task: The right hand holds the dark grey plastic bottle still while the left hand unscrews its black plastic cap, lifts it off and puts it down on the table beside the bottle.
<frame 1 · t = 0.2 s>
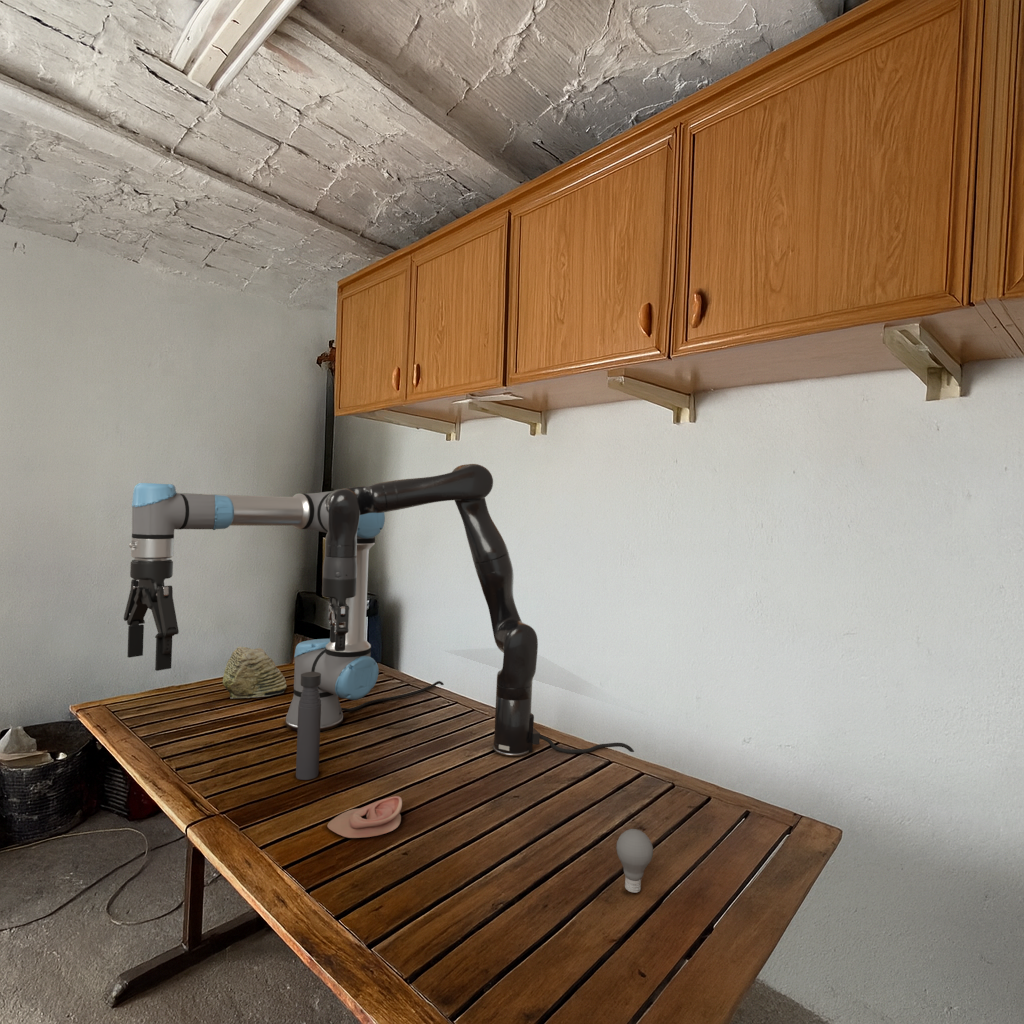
left hand: (148, 662, 129), 28 cm above the table, tool pointing down, fingers open, 13 cm apart
right hand: (337, 646, 145), 29 cm above the table, tool pointing down, fingers open, 8 cm apart
cap: (310, 675, 143), point 23 cm above the table, screwed on, not yet turned
anatomical model: (365, 824, 123), on the table
light bulb: (632, 891, 106), on the table
bottle: (307, 775, 144), on the table
fossil: (254, 694, 198), on the table
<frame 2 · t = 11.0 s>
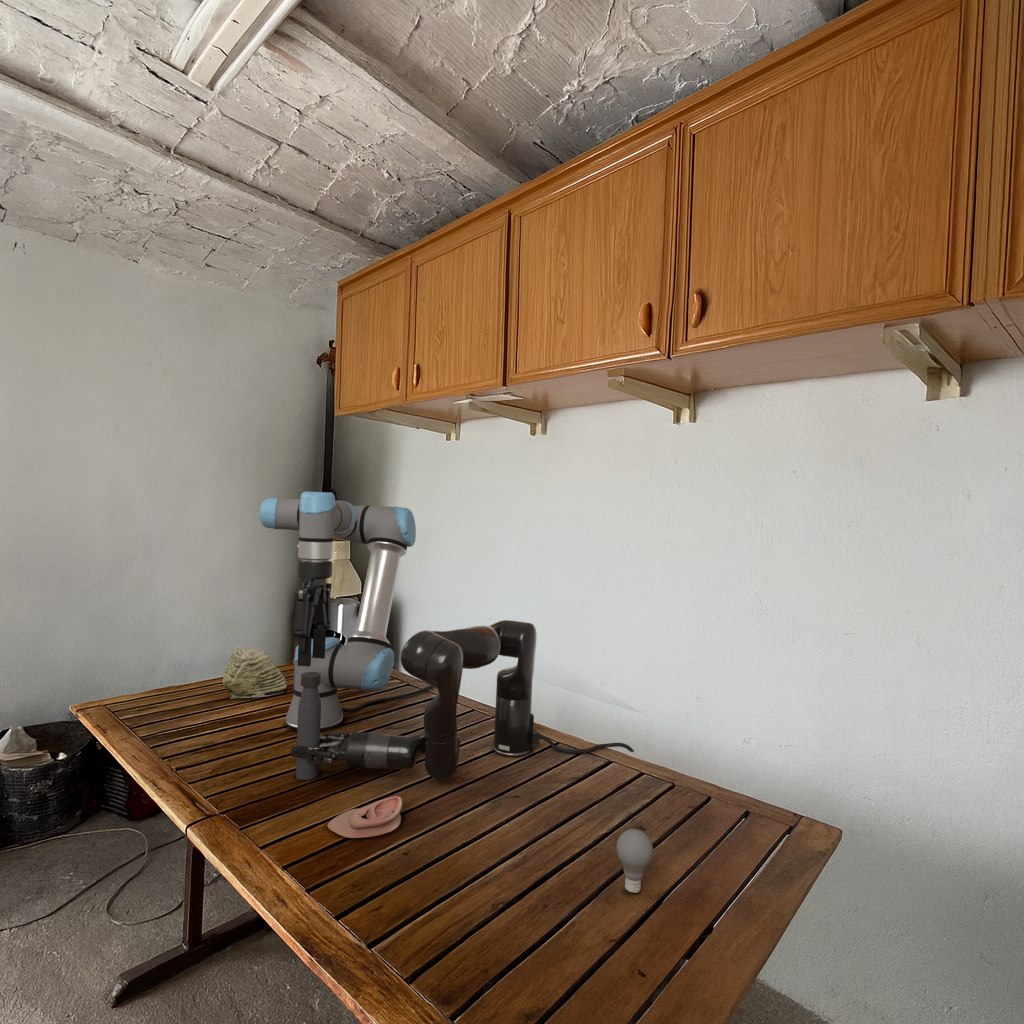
left hand: (311, 661, 143), 26 cm above the table, tool pointing down, fingers open, 7 cm apart
right hand: (296, 746, 144), 6 cm above the table, tool horizontal, fingers closed on bottle, 5 cm apart
bottle: (307, 775, 144), on the table, touching right hand
everything else where it was.
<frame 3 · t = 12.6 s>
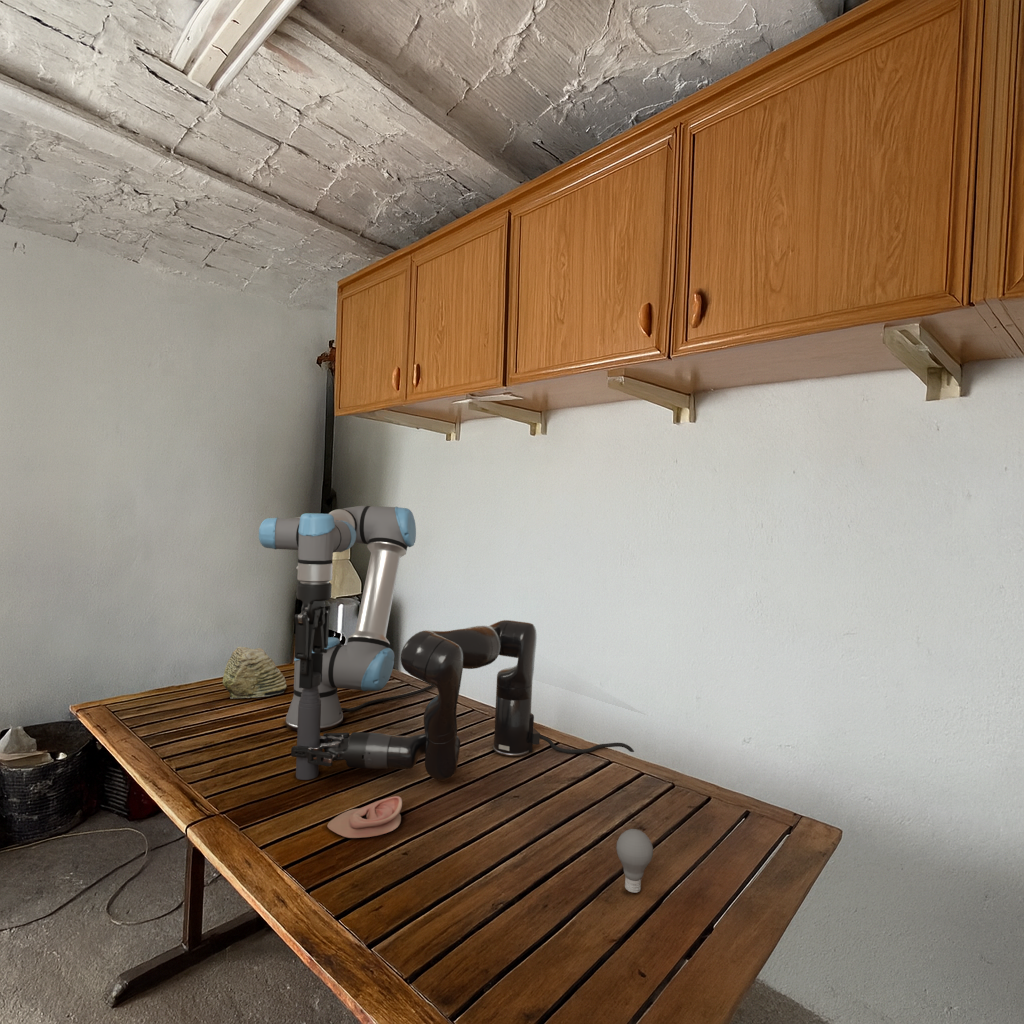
left hand: (310, 684, 143), 21 cm above the table, tool pointing down, fingers closed on cap, 4 cm apart
right hand: (296, 746, 144), 6 cm above the table, tool horizontal, fingers closed on bottle, 5 cm apart
cap: (310, 675, 143), point 23 cm above the table, screwed on, not yet turned, touching left hand
bottle: (307, 775, 144), on the table, touching right hand
everything else where it was.
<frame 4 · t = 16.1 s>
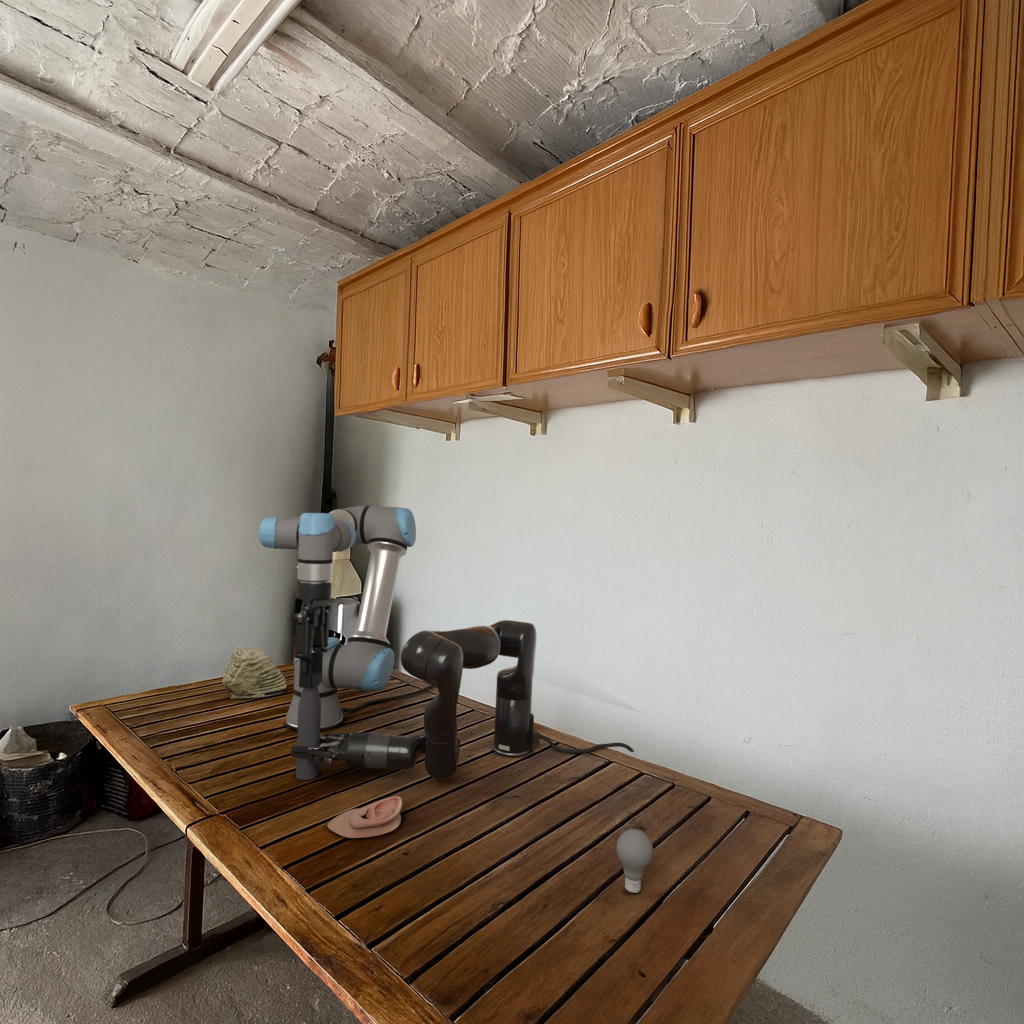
left hand: (310, 683, 143), 21 cm above the table, tool pointing down, fingers closed on cap, 4 cm apart
right hand: (296, 746, 144), 6 cm above the table, tool horizontal, fingers closed on bottle, 5 cm apart
cap: (310, 675, 143), point 23 cm above the table, turned 119° so far, risen 0.1 cm, still on its thread, touching left hand
bottle: (307, 775, 144), on the table, touching right hand
everything else where it was.
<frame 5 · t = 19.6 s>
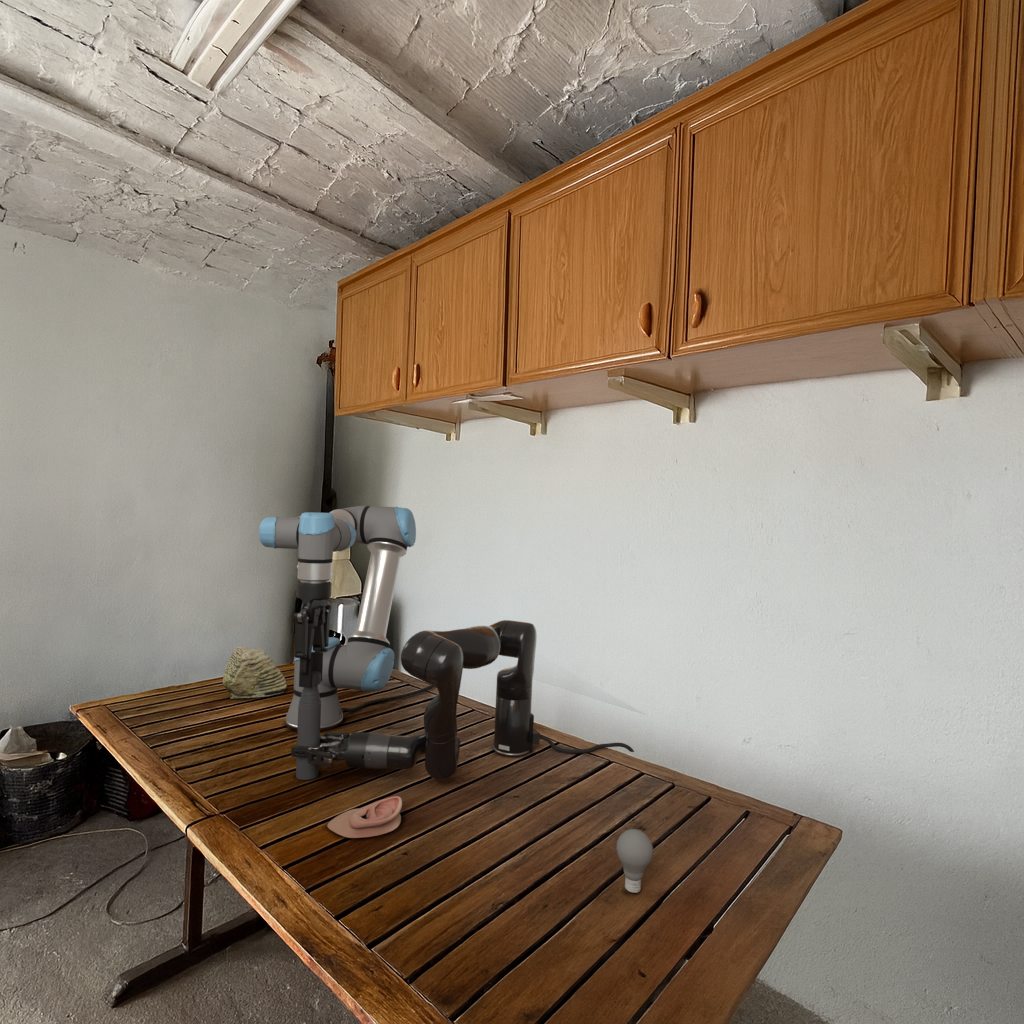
left hand: (310, 683, 143), 21 cm above the table, tool pointing down, fingers closed on cap, 4 cm apart
right hand: (296, 746, 144), 6 cm above the table, tool horizontal, fingers closed on bottle, 5 cm apart
cap: (311, 674, 143), point 23 cm above the table, turned 238° so far, risen 0.2 cm, still on its thread, touching left hand
bottle: (307, 775, 144), on the table, touching right hand
everything else where it was.
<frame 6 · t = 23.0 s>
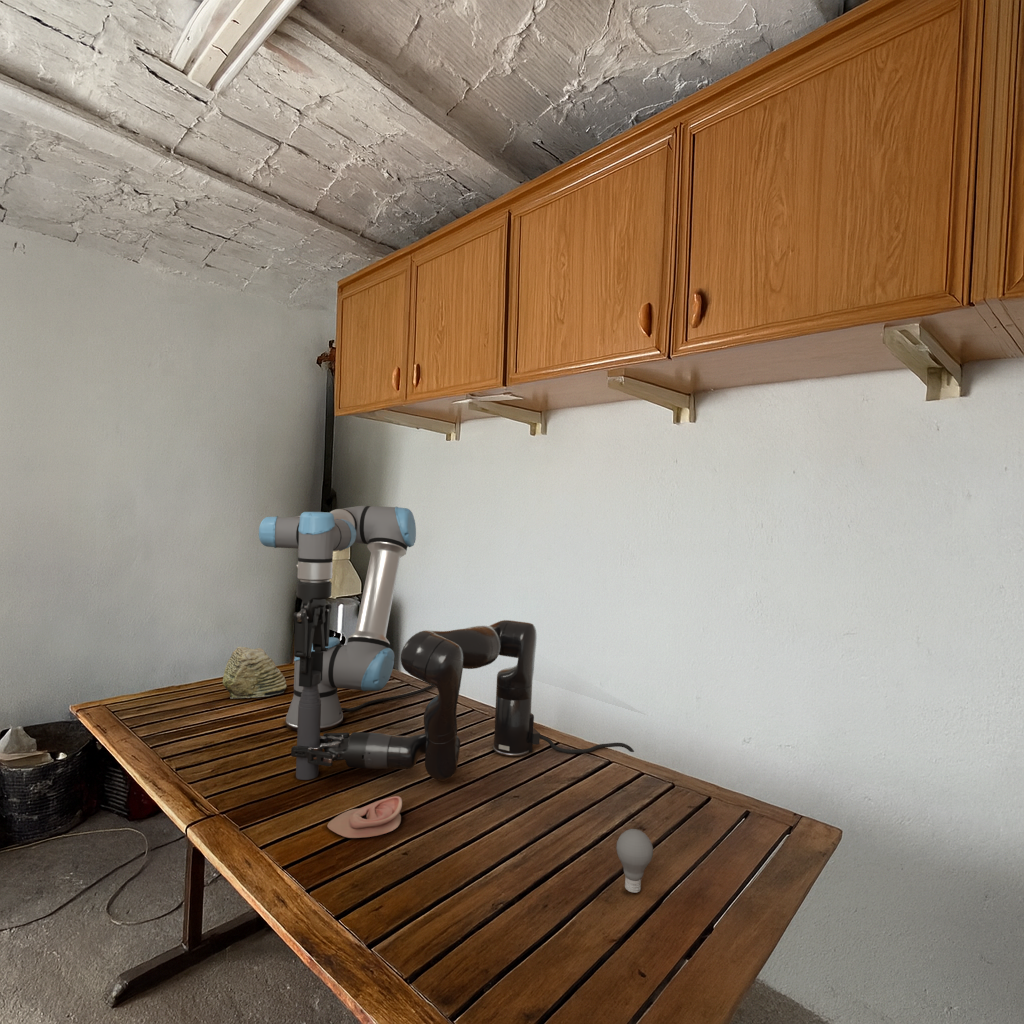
left hand: (310, 682, 143), 21 cm above the table, tool pointing down, fingers closed on cap, 4 cm apart
right hand: (296, 746, 144), 6 cm above the table, tool horizontal, fingers closed on bottle, 5 cm apart
cap: (311, 674, 143), point 23 cm above the table, turned 358° so far, risen 0.3 cm, still on its thread, touching left hand
bottle: (307, 775, 144), on the table, touching right hand
everything else where it was.
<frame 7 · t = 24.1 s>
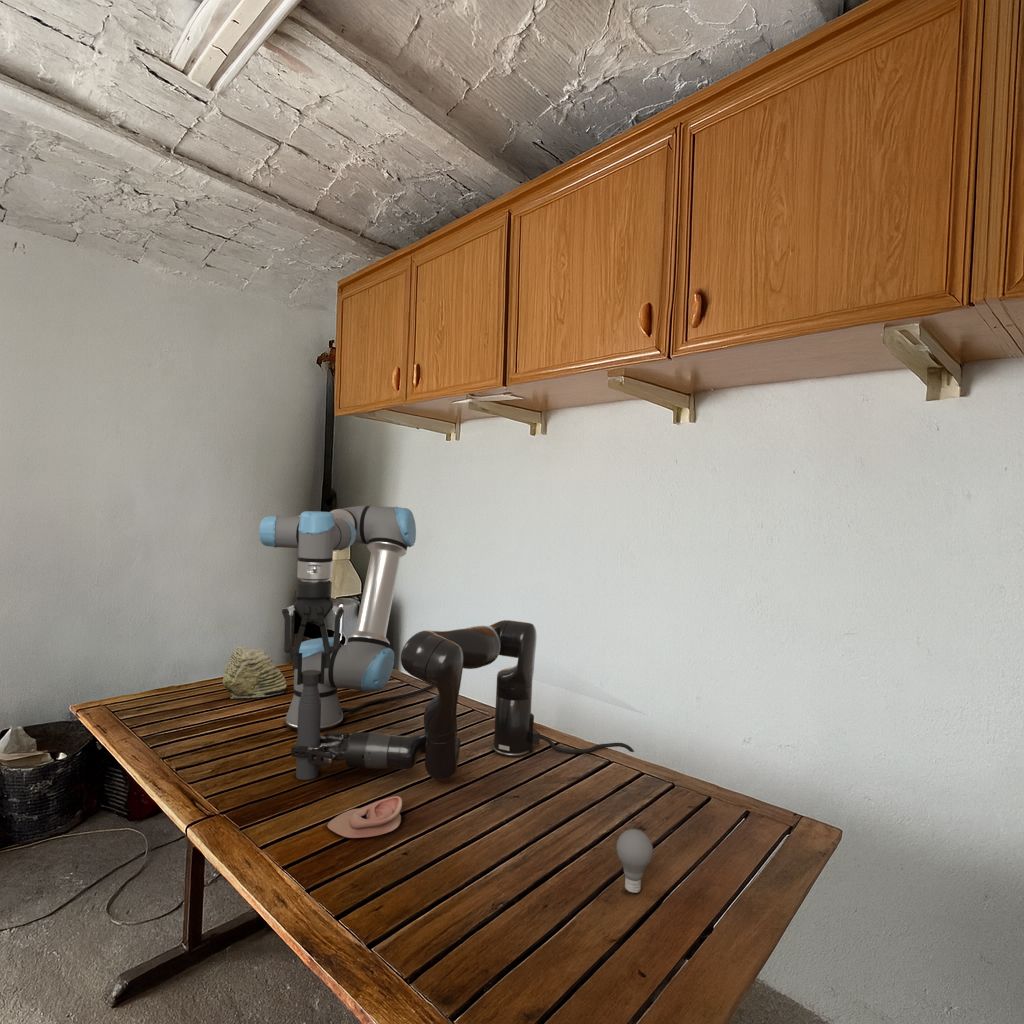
left hand: (310, 682, 143), 21 cm above the table, tool pointing down, fingers closed on cap, 4 cm apart
right hand: (296, 746, 144), 6 cm above the table, tool horizontal, fingers closed on bottle, 5 cm apart
cap: (311, 673, 143), point 23 cm above the table, off its thread, touching left hand
bottle: (307, 775, 144), on the table, touching right hand
everything else where it was.
when the left hand's fingers open (1 cm above the table, at t = 30.9 s): cap stays where it is, point 2 cm above the table.
when the right hand's fingers open (6 cm above the table, at t = 32.2 s): bottle stays where it is, on the table.
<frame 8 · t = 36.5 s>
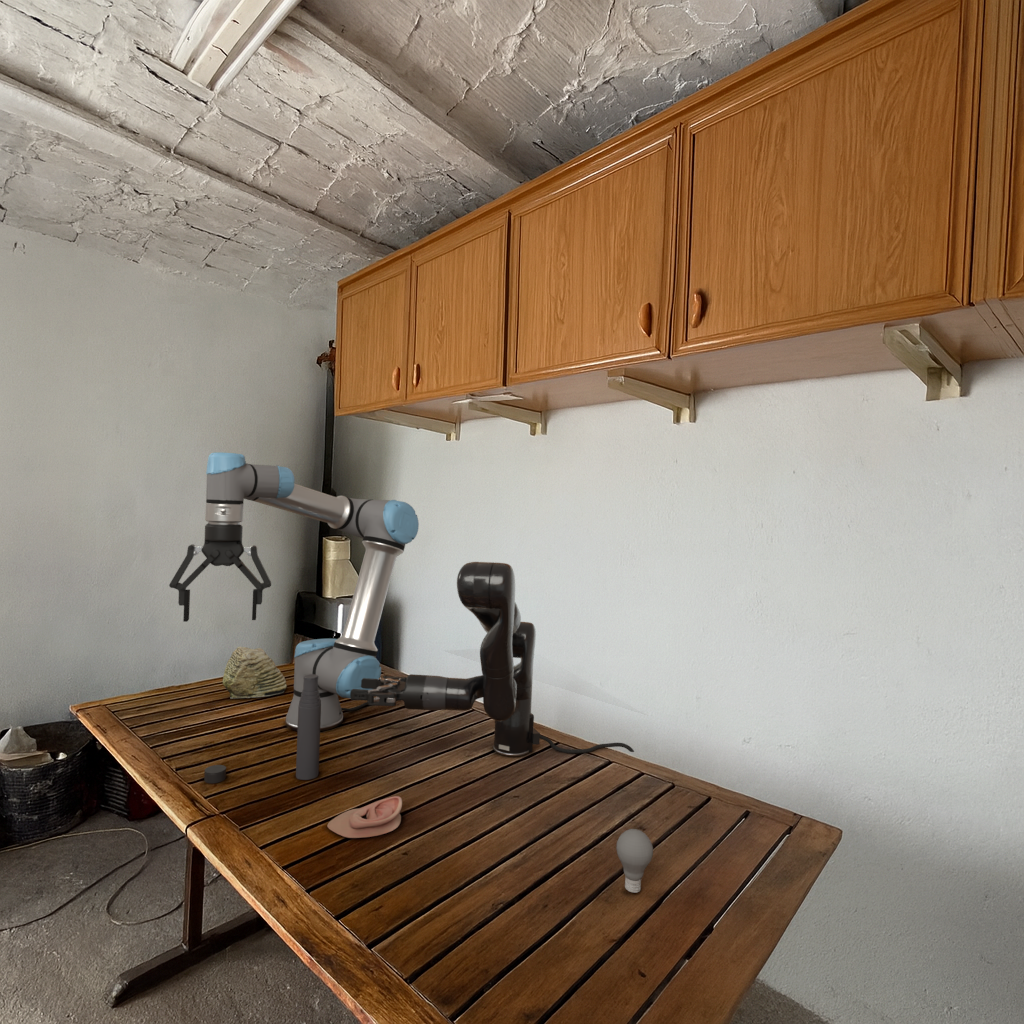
left hand: (220, 619, 139), 35 cm above the table, tool pointing down, fingers open, 13 cm apart
right hand: (356, 688, 143), 20 cm above the table, tool horizontal, fingers open, 8 cm apart
cap: (215, 770, 140), point 2 cm above the table, off its thread
bottle: (307, 775, 144), on the table
everything else where it was.
at the end: cap came off its thread; cap point 2.0 cm above the table; the left hand is holding nothing; the right hand is holding nothing; bottle tilted 0°; bottle moved 0.0 cm from its start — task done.
